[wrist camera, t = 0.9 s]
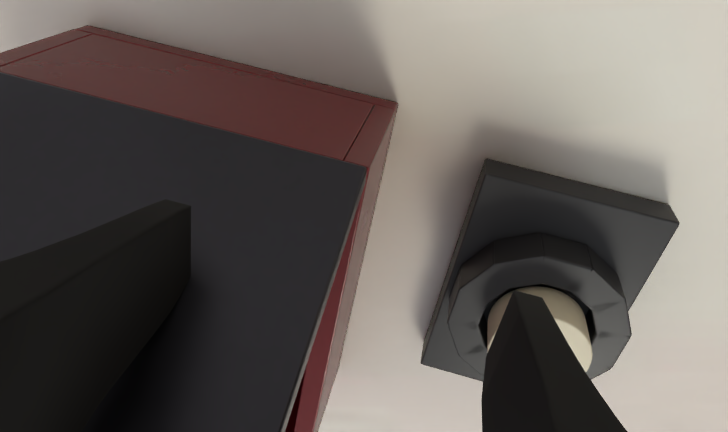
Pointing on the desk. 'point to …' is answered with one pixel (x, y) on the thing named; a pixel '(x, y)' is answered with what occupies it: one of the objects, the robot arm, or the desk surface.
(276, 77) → the dark red open box
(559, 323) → the button
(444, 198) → the desk surface
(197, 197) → the dark grey box lid
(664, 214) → the control block
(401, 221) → the desk surface
